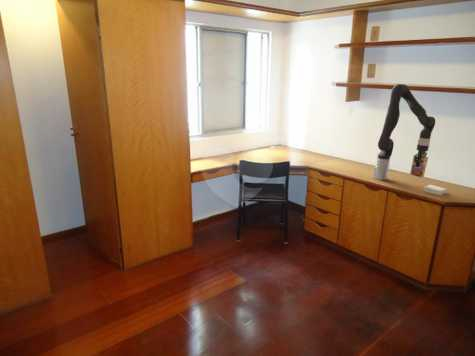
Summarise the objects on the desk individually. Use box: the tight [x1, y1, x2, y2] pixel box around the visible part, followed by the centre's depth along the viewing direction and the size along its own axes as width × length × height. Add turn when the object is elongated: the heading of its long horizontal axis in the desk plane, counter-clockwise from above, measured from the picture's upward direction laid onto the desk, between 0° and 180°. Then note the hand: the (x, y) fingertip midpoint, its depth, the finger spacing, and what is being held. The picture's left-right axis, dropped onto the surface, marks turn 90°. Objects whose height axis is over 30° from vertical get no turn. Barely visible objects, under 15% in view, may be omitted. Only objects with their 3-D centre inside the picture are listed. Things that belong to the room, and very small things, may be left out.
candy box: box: [409, 154, 429, 179], centre depth 254 cm, size 9×4×15 cm, turn 35°
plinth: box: [422, 184, 447, 196], centre depth 250 cm, size 12×10×3 cm
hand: (418, 166), depth 254 cm, fingers closed on candy box, 4 cm apart
